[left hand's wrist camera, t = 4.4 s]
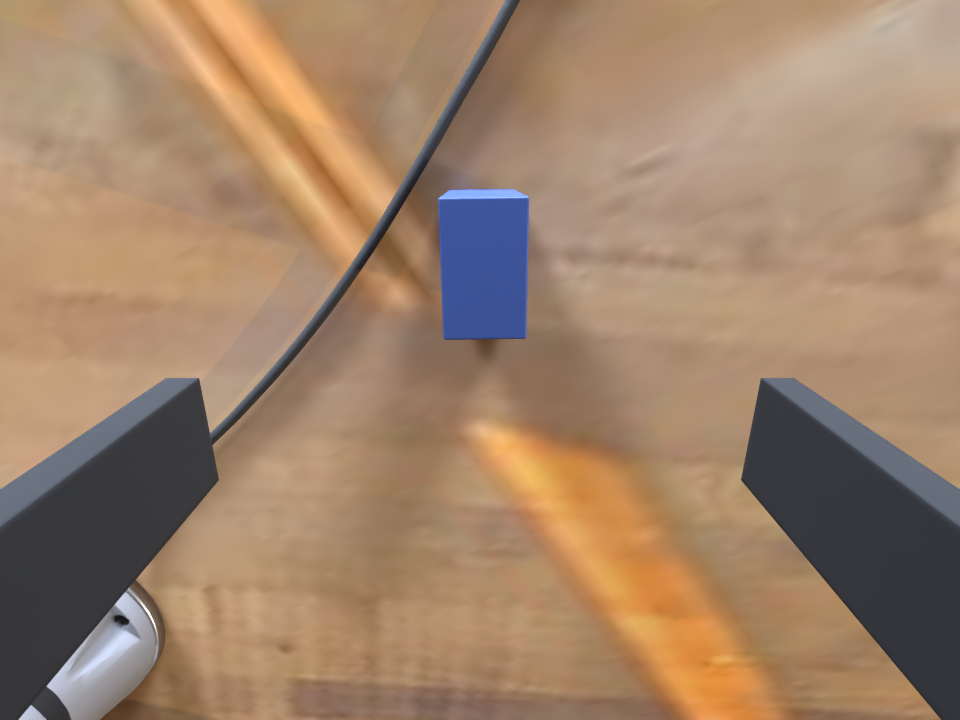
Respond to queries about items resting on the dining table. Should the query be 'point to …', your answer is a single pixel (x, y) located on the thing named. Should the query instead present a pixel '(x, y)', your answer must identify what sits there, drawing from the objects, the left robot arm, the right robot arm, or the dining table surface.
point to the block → (484, 263)
